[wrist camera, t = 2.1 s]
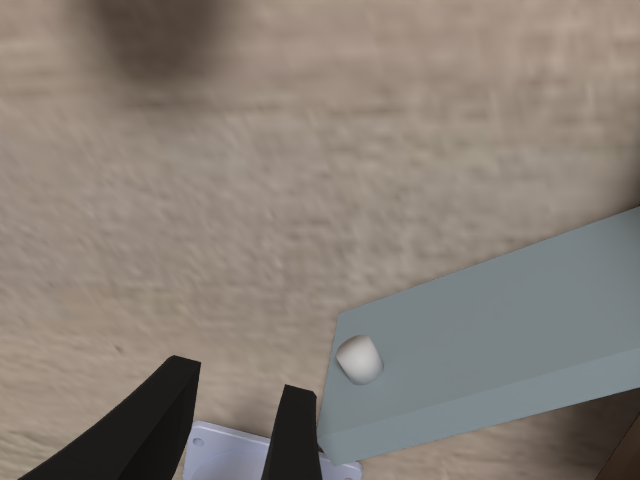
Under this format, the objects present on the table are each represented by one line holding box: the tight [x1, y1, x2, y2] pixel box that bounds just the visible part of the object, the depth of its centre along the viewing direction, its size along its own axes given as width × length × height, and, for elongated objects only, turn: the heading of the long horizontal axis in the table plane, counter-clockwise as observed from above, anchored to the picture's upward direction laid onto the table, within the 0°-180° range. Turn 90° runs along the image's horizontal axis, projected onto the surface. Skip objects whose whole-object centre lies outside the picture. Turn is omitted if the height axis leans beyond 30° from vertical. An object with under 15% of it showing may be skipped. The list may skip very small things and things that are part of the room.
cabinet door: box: [317, 206, 640, 467], centre depth 17 cm, size 16×2×6 cm, turn 118°
